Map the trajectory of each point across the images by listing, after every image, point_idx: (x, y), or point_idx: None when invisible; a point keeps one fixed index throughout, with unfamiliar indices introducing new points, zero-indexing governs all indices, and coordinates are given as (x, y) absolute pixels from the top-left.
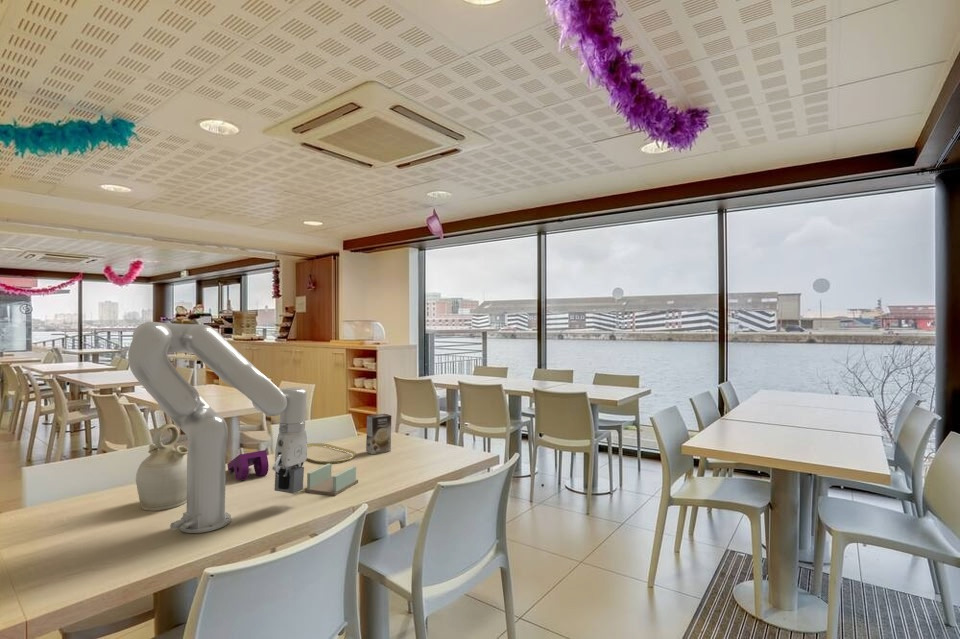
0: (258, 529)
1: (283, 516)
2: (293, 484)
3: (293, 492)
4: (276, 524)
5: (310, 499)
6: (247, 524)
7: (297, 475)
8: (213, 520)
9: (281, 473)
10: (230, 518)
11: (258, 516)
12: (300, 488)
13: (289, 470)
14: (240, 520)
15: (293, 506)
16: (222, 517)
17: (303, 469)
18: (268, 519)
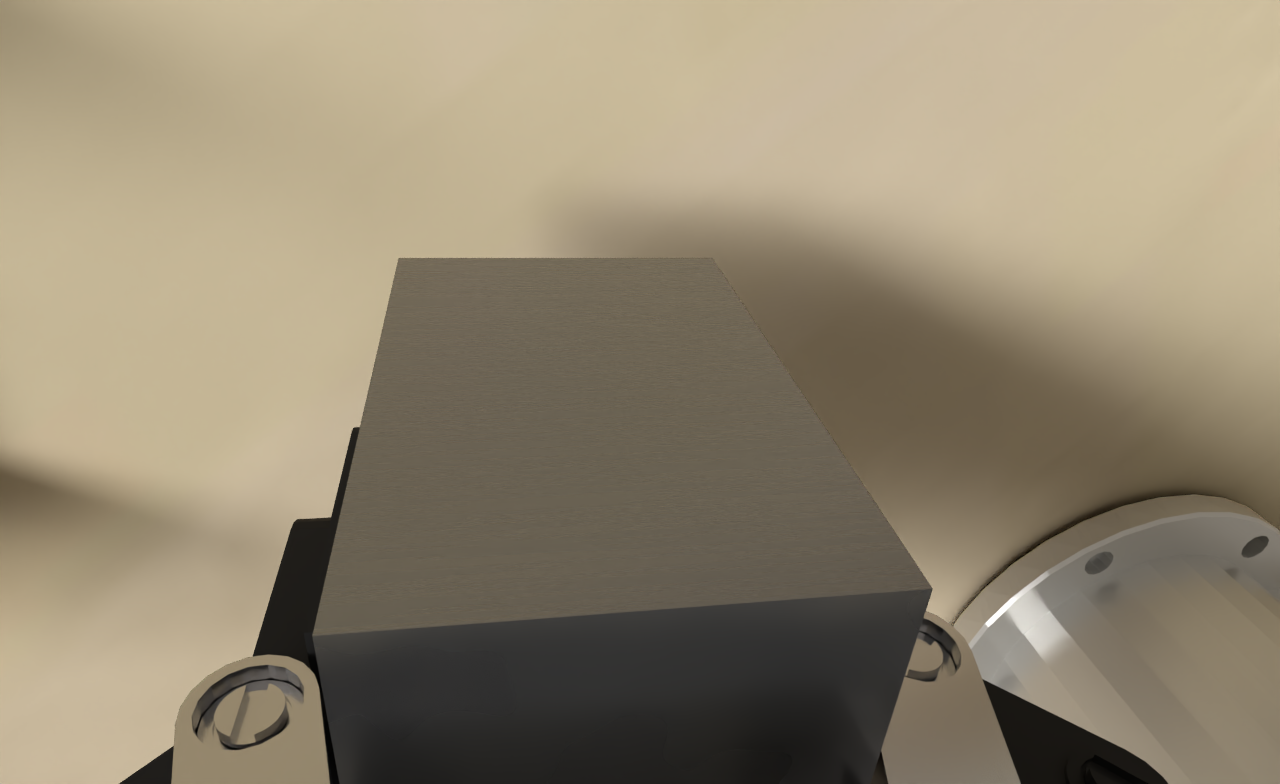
0: (1263, 150)
1: (888, 128)
2: (766, 347)
3: (709, 267)
4: (1144, 33)
5: (153, 183)
6: (1117, 355)
7: (684, 456)
8: (1250, 584)
9: (1059, 726)
10: (1083, 546)
11: (914, 406)
12: (481, 276)
13: (869, 727)
14: (1019, 481)
15: (530, 242)
16: (1157, 584)
17: (354, 562)
18: (990, 245)
